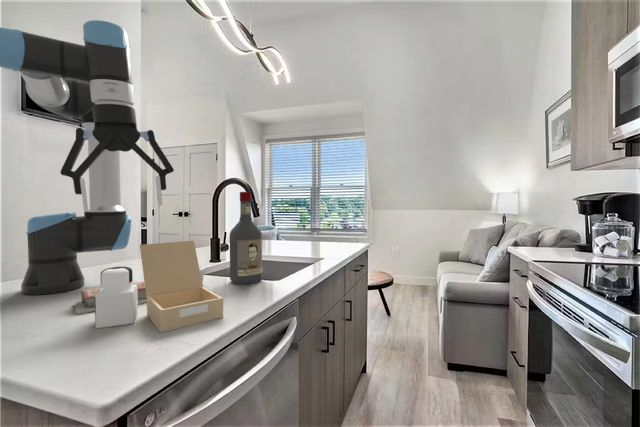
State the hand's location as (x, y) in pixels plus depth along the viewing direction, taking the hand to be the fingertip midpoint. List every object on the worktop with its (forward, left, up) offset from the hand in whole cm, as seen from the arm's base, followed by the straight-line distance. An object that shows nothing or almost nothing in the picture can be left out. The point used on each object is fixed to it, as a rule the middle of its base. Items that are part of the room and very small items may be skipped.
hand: (125, 207), depth 70 cm
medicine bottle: (-4, -1, -26) cm, 26 cm away
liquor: (-19, +38, -26) cm, 49 cm away
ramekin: (-27, +21, -26) cm, 42 cm away
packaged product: (-19, +1, -26) cm, 33 cm away
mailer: (0, +11, -25) cm, 28 cm away
